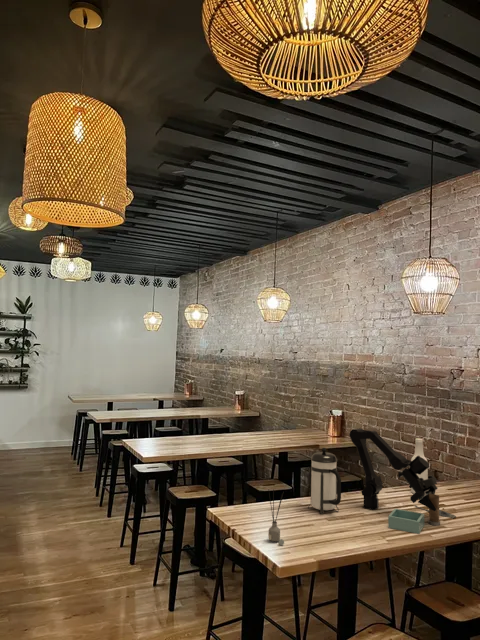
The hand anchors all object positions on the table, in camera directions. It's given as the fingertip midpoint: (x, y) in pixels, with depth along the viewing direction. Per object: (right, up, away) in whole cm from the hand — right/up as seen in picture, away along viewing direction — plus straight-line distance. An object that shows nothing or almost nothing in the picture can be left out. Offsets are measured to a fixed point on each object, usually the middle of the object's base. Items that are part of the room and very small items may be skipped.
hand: (437, 509), depth 219 cm
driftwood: (+7, -9, +18) cm, 21 cm away
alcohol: (+11, -11, +50) cm, 52 cm away
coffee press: (-48, -7, +15) cm, 51 cm away
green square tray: (-15, -6, -4) cm, 17 cm away
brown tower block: (-1, -7, 0) cm, 7 cm away
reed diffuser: (-75, -3, -25) cm, 79 cm away
